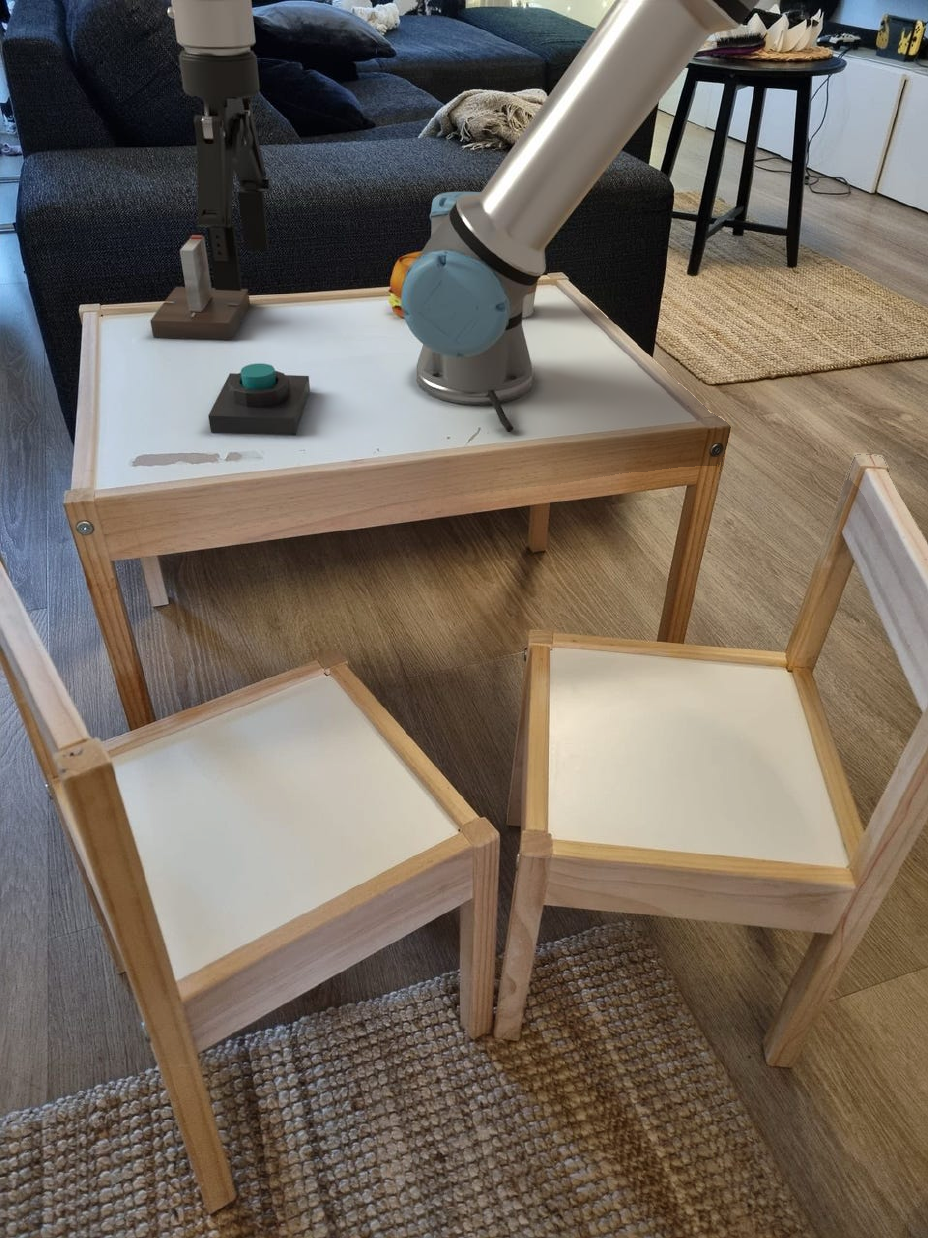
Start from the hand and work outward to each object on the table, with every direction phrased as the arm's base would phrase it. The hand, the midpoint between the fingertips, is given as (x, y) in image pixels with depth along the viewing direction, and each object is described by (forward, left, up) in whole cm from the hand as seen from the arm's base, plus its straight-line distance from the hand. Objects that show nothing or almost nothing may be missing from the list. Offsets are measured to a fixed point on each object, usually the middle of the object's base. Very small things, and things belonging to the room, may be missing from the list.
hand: (243, 269), depth 104 cm
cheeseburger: (+34, -19, -17) cm, 42 cm away
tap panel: (+28, +13, -17) cm, 35 cm away
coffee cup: (+36, -33, -17) cm, 51 cm away
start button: (-1, -1, -13) cm, 13 cm away
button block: (-1, -1, -17) cm, 17 cm away
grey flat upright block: (+28, +13, -14) cm, 34 cm away
